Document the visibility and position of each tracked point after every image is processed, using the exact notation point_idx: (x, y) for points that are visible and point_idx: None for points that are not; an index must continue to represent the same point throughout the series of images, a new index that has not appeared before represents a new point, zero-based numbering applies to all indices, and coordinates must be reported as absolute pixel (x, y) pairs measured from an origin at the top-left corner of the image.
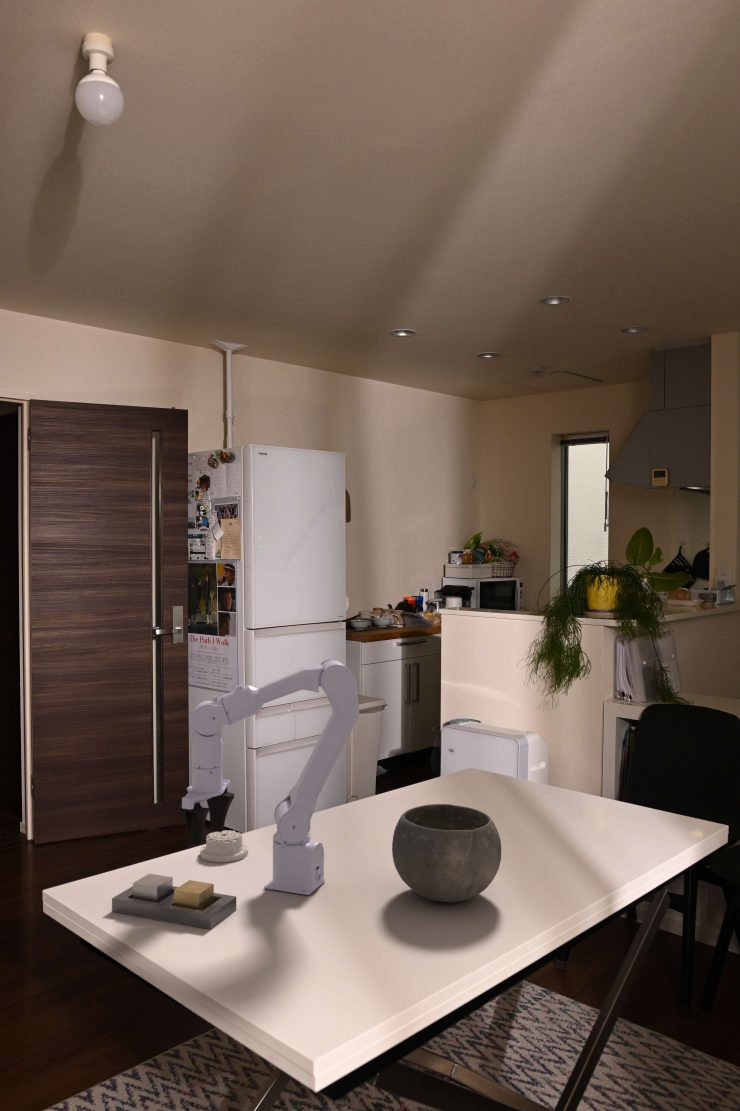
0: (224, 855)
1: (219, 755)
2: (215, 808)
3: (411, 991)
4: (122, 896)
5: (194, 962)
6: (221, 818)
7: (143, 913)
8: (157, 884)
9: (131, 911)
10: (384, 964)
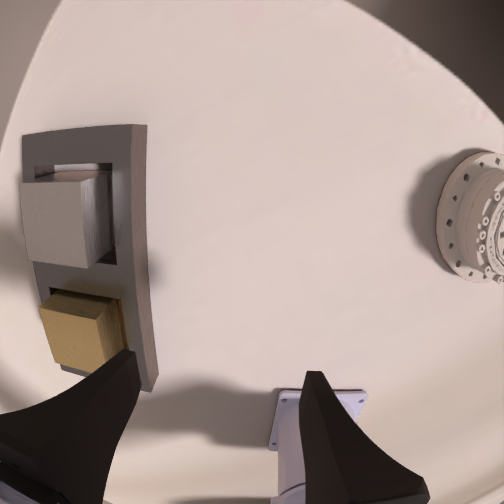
0: (455, 242)
1: None
2: (318, 472)
3: None
4: (35, 151)
5: (9, 356)
6: (305, 451)
7: None
8: (37, 253)
9: None
10: (127, 491)
